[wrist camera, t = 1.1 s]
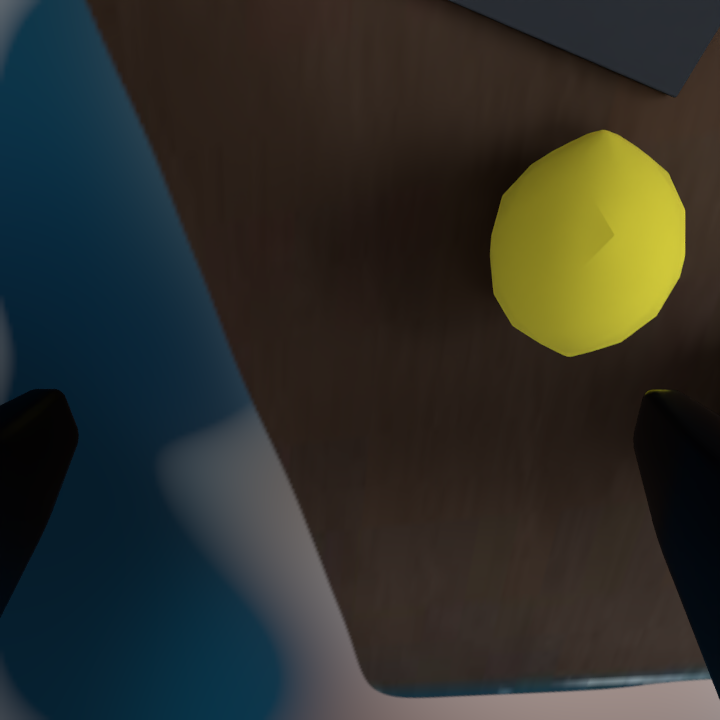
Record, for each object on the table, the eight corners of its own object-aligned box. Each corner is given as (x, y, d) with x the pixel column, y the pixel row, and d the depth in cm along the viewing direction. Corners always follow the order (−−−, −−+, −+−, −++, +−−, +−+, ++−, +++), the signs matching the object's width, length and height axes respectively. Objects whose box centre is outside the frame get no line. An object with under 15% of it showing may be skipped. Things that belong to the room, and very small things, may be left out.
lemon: (488, 112, 18) (515, 159, 14) (671, 106, 18) (761, 154, 13) (473, 314, 22) (491, 403, 18) (624, 313, 22) (682, 404, 17)
